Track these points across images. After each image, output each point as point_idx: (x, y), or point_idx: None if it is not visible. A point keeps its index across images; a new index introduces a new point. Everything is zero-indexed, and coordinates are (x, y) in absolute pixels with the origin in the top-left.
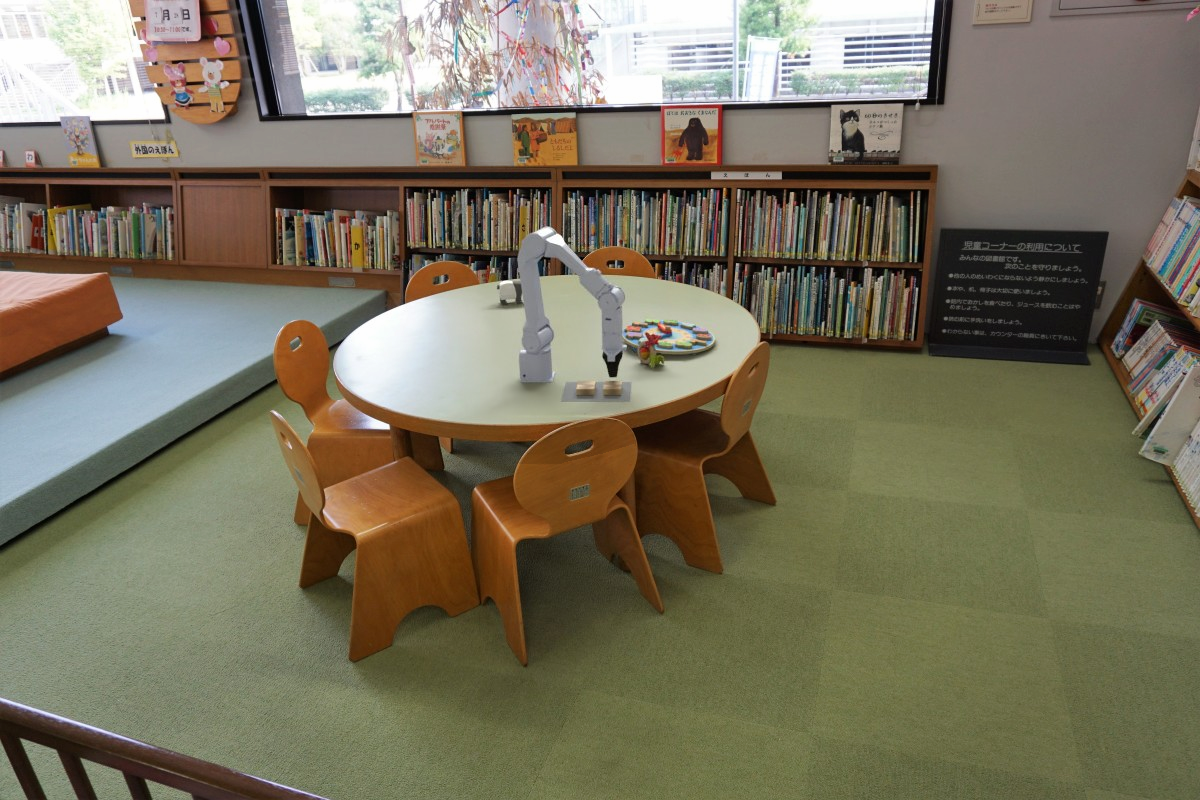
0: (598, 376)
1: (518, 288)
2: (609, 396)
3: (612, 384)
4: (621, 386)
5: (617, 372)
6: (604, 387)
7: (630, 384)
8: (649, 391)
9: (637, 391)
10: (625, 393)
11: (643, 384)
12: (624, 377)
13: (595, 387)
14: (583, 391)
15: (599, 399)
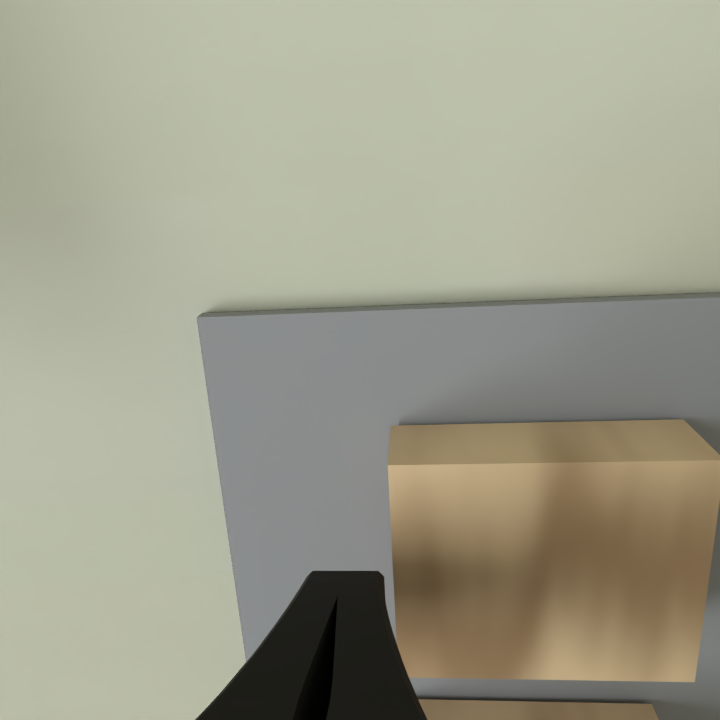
0: (61, 670)
1: None
2: None
3: (532, 581)
4: (606, 460)
5: (384, 616)
6: (637, 669)
7: (288, 322)
8: (486, 16)
9: (485, 207)
10: (614, 368)
11: (220, 137)
12: (26, 408)
13: (458, 711)
14: None
15: None
